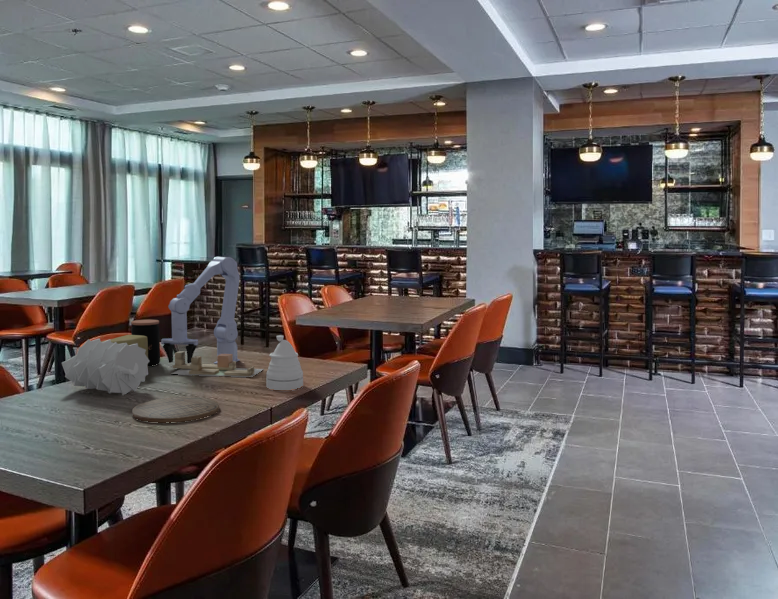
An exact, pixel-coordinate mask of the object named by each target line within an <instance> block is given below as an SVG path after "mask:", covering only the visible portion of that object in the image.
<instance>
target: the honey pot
mask: <svg viewBox="0 0 778 599" xmlns="http://www.w3.org/2000/svg"><path fill="white" fill-rule="evenodd" d="M276 340H277V341H278V342H279V343H278V344H277V345H276V347H275V349H274V351H273V352H271V353H270V354H269V356H268V357H270V358H271V359H270V362H269V363H268V364H269V365H268V367H267V371H266V372H265V373H266V374H265V375H266V379H265V380H266V381H265V382H266V384H265V386H266V387H267V388H269V389H274V390H291V389H297V388H300V387H301V386H303V387H304V372H303V369H302V365H301V362H300V361H299V358H298V357H299V354H298V352H296V350H295V348H294V347H293V345H292V344H291V343H290V341H288V340H287V339H284V335H282V334H281V335H280V334H279V335H276ZM267 388H266V389H267ZM269 389H268V390H269Z"/></svg>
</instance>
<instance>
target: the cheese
mask: <svg viewBox="0 0 778 599" xmlns="http://www.w3.org/2000/svg"><path fill="white" fill-rule="evenodd" d="M110 340H111V342H112V343H115V342H117V344H122V343H127V344H128V346H129V345H133V344H136V343H138V347H140V348H143V349H145V350H146V352H145V355H146V356H147V358H148V340H147V337H146V336H141V335H131V334H126V335H122V336H118V337H117V336H116V337H115V338H111V339H110ZM100 341H101V340H100ZM104 341H105V340H102V341H101V342H104ZM147 368H148V369H149V367H148V364H147Z"/></svg>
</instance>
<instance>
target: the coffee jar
mask: <svg viewBox="0 0 778 599" xmlns="http://www.w3.org/2000/svg"><path fill="white" fill-rule="evenodd" d="M130 323H131V325H132V326H131V328H130V329H131V330H130V331H131V334H130V335H141V336H146V337H147V340H148V359H149V361H150V362H149V363H148V366H152V365H156V364H158V365H160V362H161V345H160V344H161V338H160V337H161V335H160V326H159V324H160V320H158V319H136V320H131V321H130ZM152 367H153V366H152Z"/></svg>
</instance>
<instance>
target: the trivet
mask: <svg viewBox="0 0 778 599" xmlns="http://www.w3.org/2000/svg"><path fill="white" fill-rule="evenodd" d="M131 410H132V414H133V415H132V418H133V417H134V418H135V419H134V418H133V419H134V420H136V419H138V420H141V421H148V422H158V423H166V422H169V423H171V422H185V421H191V420H196V419H200V418H204V417H207V416H210V415H213V414H215V413H216V412H218V413H219V411H220V403H219V401H216V400H215V399H212V398H208V397H207V398H206V397H201V396H173V397H171V396H170V397H164V398H157V399H152V400H147V401H144V402H141V403H139V404H137V405H136V406H134V407H133V408H132V409H131ZM218 410H219V411H218ZM216 414H217V413H216ZM216 414H215V415H216ZM213 416H214V415H213ZM138 420H137V421H138ZM141 421H140V422H141ZM191 422H192V421H191ZM185 423H186V422H185Z"/></svg>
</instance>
